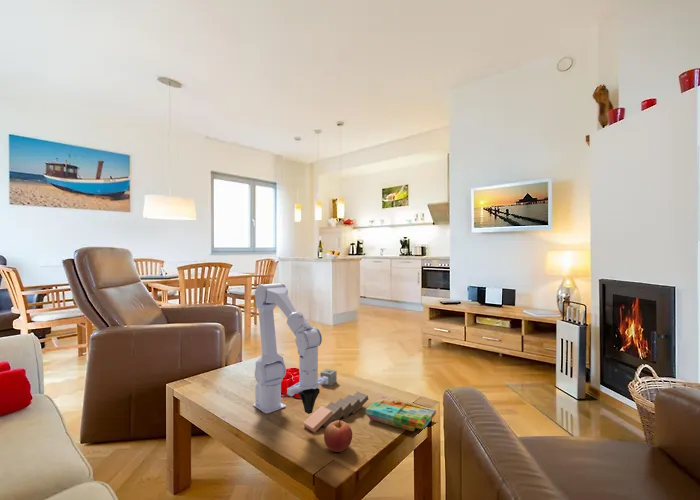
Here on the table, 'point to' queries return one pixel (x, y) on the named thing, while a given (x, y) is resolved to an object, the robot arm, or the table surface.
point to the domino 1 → (318, 418)
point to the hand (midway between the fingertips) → (308, 412)
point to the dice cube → (329, 376)
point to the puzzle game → (400, 413)
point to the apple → (338, 436)
